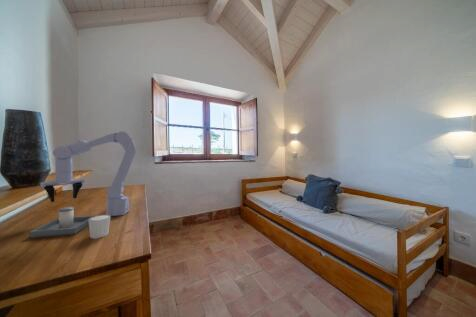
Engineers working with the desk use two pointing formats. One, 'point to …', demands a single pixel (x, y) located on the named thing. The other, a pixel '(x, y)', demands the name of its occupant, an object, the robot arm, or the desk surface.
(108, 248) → the desk surface
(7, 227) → the desk surface
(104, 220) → the white cup
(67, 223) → the shaker
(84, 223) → the tray
